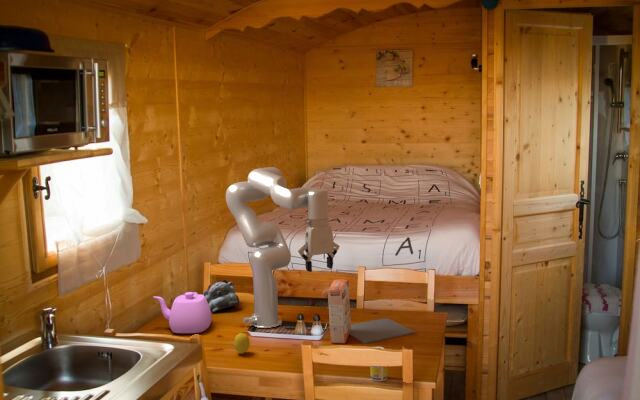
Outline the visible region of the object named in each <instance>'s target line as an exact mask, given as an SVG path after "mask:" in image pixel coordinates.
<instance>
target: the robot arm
mask: <svg viewBox="0 0 640 400" xmlns="http://www.w3.org/2000/svg"><path fill="white" fill-rule="evenodd" d="M287 185H288V183H287V180H286V178H284V176H283V173H282V171H281V170H280V169H279V168H277V167H275V166H271V167H270V166H269V167H261V168H255V169H253V170H251V171H250V172H249V173H248V176H247V180H245V181H239V182H238V181H237V182H235V183H232V184H230V186H228V187H227V189H226V192H225V202H226V205H227V208H228V210H229V212H230V214H231V215H232V217H234V219H235V221H236V224H237V226H238V228H239V231H240V233H241V236H242V238H243V240H244V242H245V244H246V245H247V247H249V248H252V249H253V248H258V249H255V250H254V251H252V253H251V254H250V258H249V263H250V268H251V272H252V273H251V274H252V281H253V283H252V284H253V310H254V313H252V314H251V315H250V317H247V316H246V317H243V318H242V320H243V323H248V324H250V325H254V326H255V327H257V328H256V329H258V328H271V327H276V326H279V325H280V326H282V324H283V321H282V319H281V318H279V308H278V307H279V306H278V305H279V304H278V303H279V301H278V281H277V278H276V276H275V274H274V273H273V271H275V270H279V269H282V268H286V267H287V266H288V265H290V263H291V260H292V255H291V252H290V248H289V246H288V243H287V242H286V240H285V237H284V235H283V233H282V231H281V229H280V227H279V225H277V224H276V223H275V222H273V221H263V222H261V221H260V220H259V218H258V216H257V214H256V212H255V210H254V209H253V208H251V206H249V205H248V204H247V203H250V202H255V201H256V202H257V201H261V200H265V199H266V198H267V197H268V196H270V197H271V200H272V202H274V204H276V205H277V206H280V207H281V208H284V209H286V210H298V209H303V208H307V220H306V221H305V222H304V223H305V225H306V226H307V227H306V231H305V237H304V245H303V246H301V247H300V248H299V249H298V250H297V252H298V253H299V255H300V257H301V258H302V259H303V260H304V261H305V270H306V271H307V272H309V273H311V272H312V271H313V265H312V264H313V263H312V258H313V256H318V255H319V256H320V255H326V254H327V256H326V268H327V269H330V270H331V269H333V266H334V258H335V255H336V254H337V253H338V250H339V248H340V245H339V244H338V243H336V242H335V241H334V235H333V229H332V226H331V225H330V221H329V220H330V219H329V192H328V190H327V189H324V188H315V187H312V186H303V187H297V188H296V187H295V188H287ZM265 246H266V247H265ZM260 247H261V248H260ZM305 253H306V254H305ZM280 326H279V327H280ZM276 328H277V327H276ZM271 329H272V328H271Z"/></svg>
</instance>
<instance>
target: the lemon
mask: <svg viewBox="0 0 640 400" xmlns="http://www.w3.org/2000/svg"><path fill="white" fill-rule="evenodd" d="M233 347H234V349H235V351H236V352H238V353H240V354H241V355H243V354H245V353H247V351H248V350H249V349H250V339H249V336H248V335H247V334H246V333H243V332H239V333H238V334H236V336H235V338H234V340H233Z"/></svg>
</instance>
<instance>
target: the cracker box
mask: <svg viewBox="0 0 640 400" xmlns="http://www.w3.org/2000/svg"><path fill="white" fill-rule="evenodd" d="M327 289H328V290H327V300H328V315H329V316H328V317H329V333H330V343H331V344H346V342H347V340H348V337H350V336H349V333H350V331H351V325H352V324H351V323H352V322H351V308H350V307H351V306H350V303H351V302H350V293H349V292H350V287H349V279H334V280H333V281H332V282H331V284H330V286H329V288H327Z"/></svg>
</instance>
